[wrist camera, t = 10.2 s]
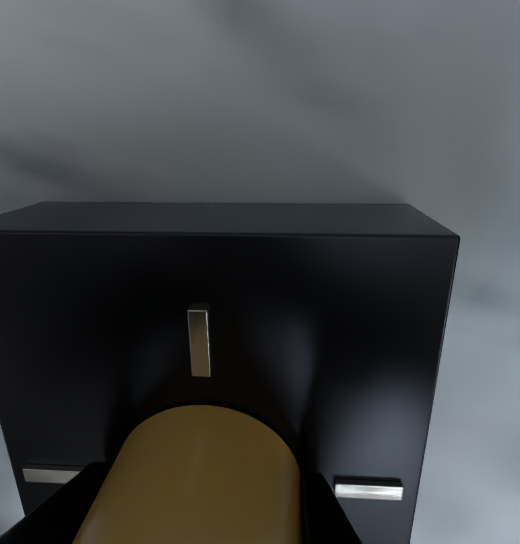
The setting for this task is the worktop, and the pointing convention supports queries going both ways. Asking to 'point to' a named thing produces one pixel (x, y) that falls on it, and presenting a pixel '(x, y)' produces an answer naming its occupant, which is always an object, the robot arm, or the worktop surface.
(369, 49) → the worktop surface
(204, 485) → the dimmer knob
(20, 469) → the dimmer panel
